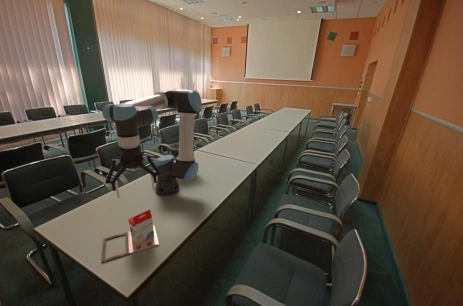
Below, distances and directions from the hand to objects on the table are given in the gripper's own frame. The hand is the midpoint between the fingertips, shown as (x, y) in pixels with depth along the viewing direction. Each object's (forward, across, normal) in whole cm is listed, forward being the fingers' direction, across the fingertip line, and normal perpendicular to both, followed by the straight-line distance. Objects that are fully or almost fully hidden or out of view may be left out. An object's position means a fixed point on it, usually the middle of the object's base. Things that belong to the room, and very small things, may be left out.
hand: (136, 193), depth 86 cm
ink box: (+24, 0, 0) cm, 24 cm away
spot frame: (+24, +11, 0) cm, 27 cm away
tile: (+24, 0, 0) cm, 24 cm away
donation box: (+25, -34, -65) cm, 77 cm away
